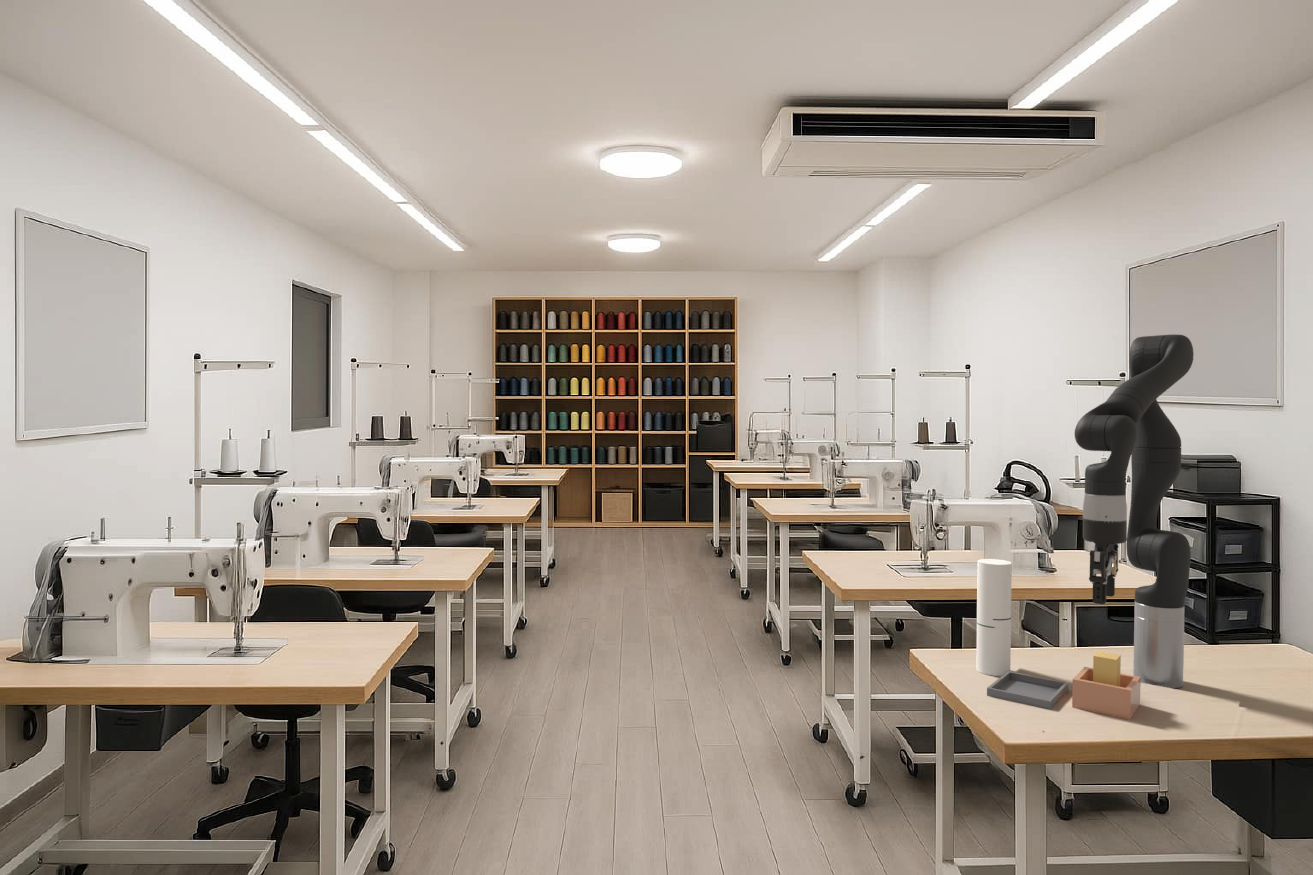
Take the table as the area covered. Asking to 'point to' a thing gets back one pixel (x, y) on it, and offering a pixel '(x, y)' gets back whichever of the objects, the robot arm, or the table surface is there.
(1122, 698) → the terracotta storage bin
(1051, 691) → the grey tray
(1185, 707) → the table surface
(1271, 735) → the table surface
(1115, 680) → the ochre block
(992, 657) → the cylindrical container
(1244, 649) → the table surface
